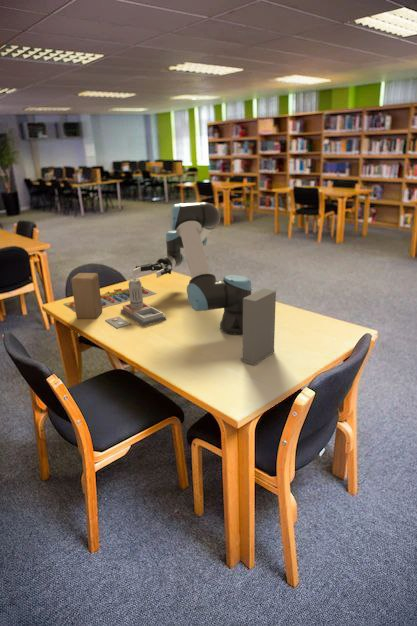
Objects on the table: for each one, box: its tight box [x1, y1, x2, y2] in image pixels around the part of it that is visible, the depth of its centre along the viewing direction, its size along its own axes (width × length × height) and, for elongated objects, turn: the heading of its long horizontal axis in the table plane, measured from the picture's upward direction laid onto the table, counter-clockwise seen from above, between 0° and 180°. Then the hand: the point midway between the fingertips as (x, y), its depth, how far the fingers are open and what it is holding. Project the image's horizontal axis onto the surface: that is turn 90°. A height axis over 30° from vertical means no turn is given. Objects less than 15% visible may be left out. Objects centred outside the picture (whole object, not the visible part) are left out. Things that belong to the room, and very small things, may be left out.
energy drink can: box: [128, 278, 144, 310], centre depth 210 cm, size 6×6×15 cm
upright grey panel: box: [240, 288, 277, 366], centre depth 162 cm, size 14×6×25 cm, turn 140°
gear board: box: [63, 286, 157, 313], centre depth 233 cm, size 45×2×19 cm
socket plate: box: [120, 301, 167, 327], centre depth 208 cm, size 22×12×4 cm, turn 37°
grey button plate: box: [105, 316, 132, 329], centre depth 202 cm, size 12×7×1 cm, turn 37°
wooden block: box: [70, 272, 103, 320], centre depth 208 cm, size 10×10×20 cm
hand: (144, 273), depth 216 cm, fingers open, 13 cm apart
